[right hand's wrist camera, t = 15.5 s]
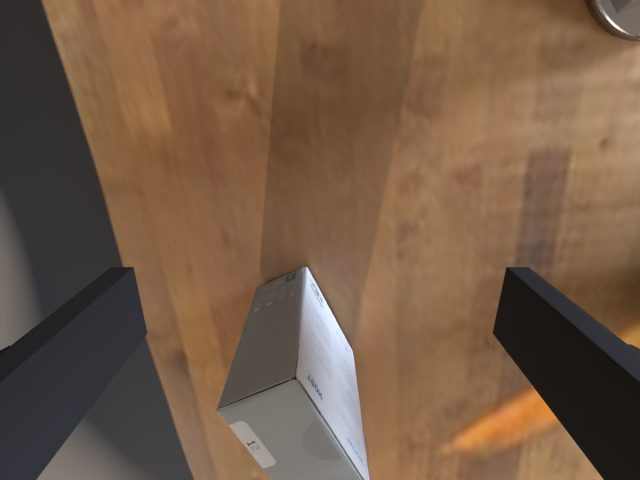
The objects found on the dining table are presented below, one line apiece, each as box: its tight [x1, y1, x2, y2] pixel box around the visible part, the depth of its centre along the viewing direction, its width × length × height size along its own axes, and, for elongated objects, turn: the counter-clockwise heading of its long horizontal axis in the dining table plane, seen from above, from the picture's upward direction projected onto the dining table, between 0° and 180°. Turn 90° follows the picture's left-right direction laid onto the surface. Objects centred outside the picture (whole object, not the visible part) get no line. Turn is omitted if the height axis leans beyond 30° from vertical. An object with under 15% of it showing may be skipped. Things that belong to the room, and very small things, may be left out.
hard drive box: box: [216, 267, 370, 480], centre depth 39 cm, size 16×8×20 cm, turn 26°
